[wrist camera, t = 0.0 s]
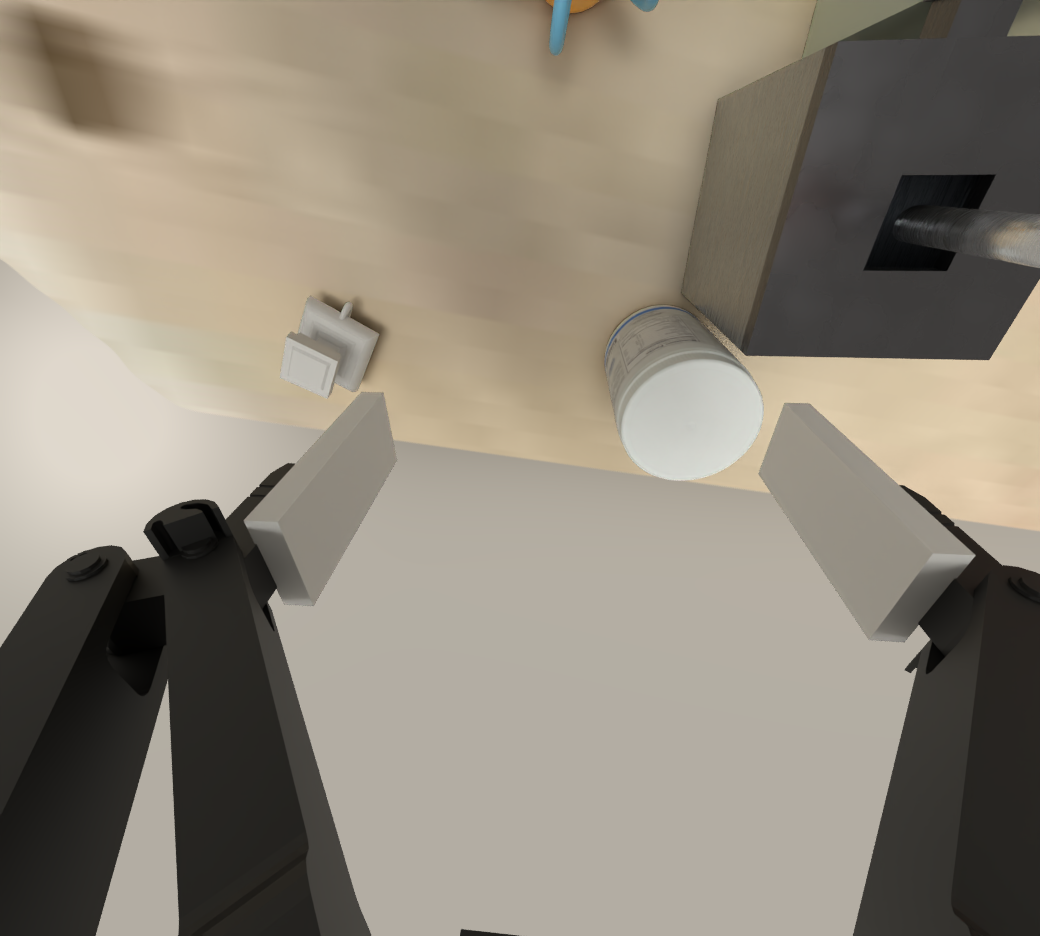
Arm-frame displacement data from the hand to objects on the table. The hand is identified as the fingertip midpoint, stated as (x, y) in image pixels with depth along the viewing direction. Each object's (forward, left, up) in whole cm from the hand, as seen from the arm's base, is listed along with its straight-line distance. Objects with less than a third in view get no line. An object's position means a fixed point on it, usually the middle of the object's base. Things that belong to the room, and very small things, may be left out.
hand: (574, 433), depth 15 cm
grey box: (-7, +17, -28) cm, 33 cm away
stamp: (+6, -21, -28) cm, 36 cm away
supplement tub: (+7, +9, -28) cm, 30 cm away
